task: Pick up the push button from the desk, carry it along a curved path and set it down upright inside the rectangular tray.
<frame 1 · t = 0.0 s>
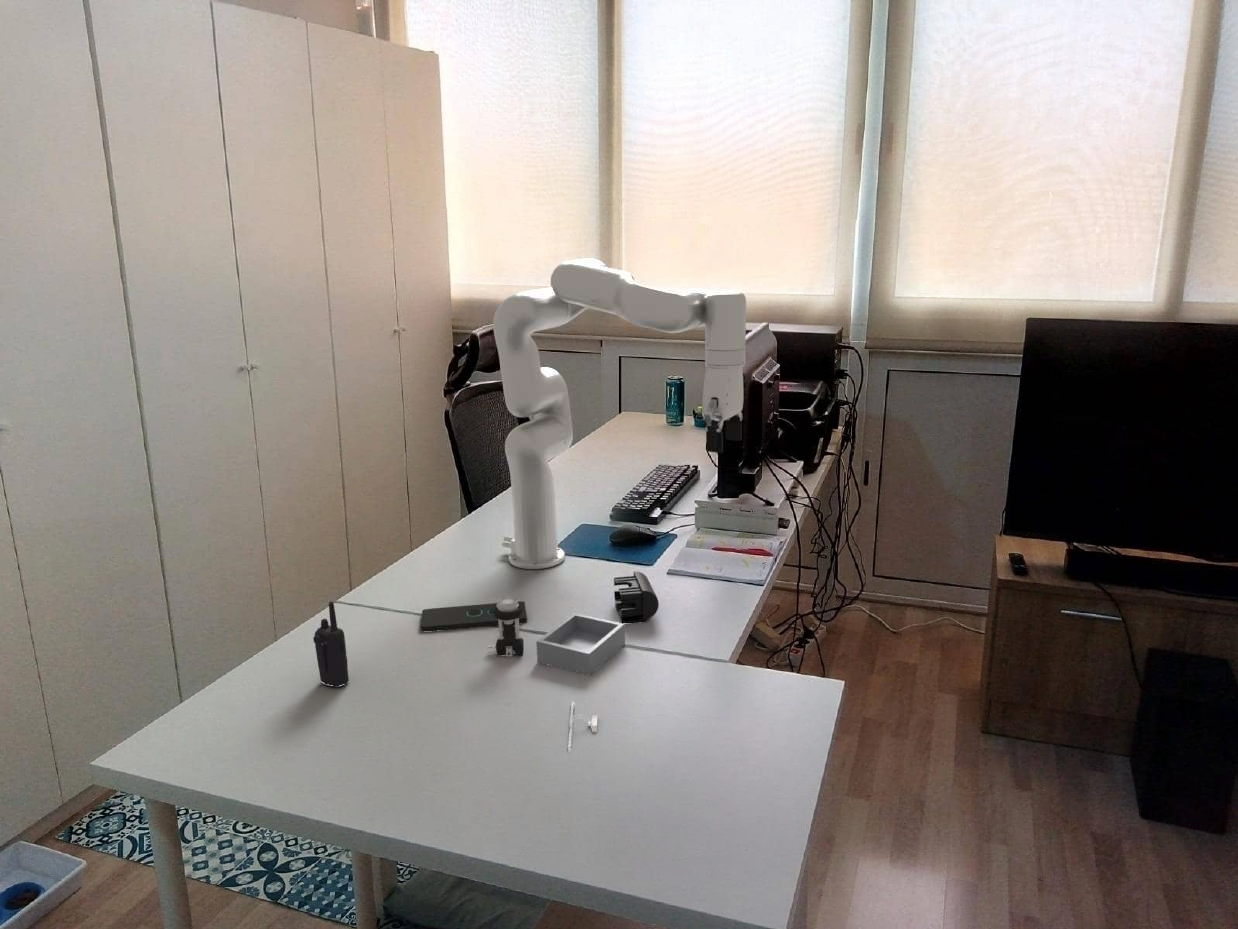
hand: (724, 445, 172), 31 cm above the table, tool pointing down, fingers open, 9 cm apart
rectangular tray: (582, 653, 158), on the table
picture light: (583, 729, 136), on the table
smart home device: (474, 622, 173), on the table
push button: (506, 654, 159), on the table
two-way radio: (332, 685, 149), on the table
end cap: (636, 614, 174), on the table
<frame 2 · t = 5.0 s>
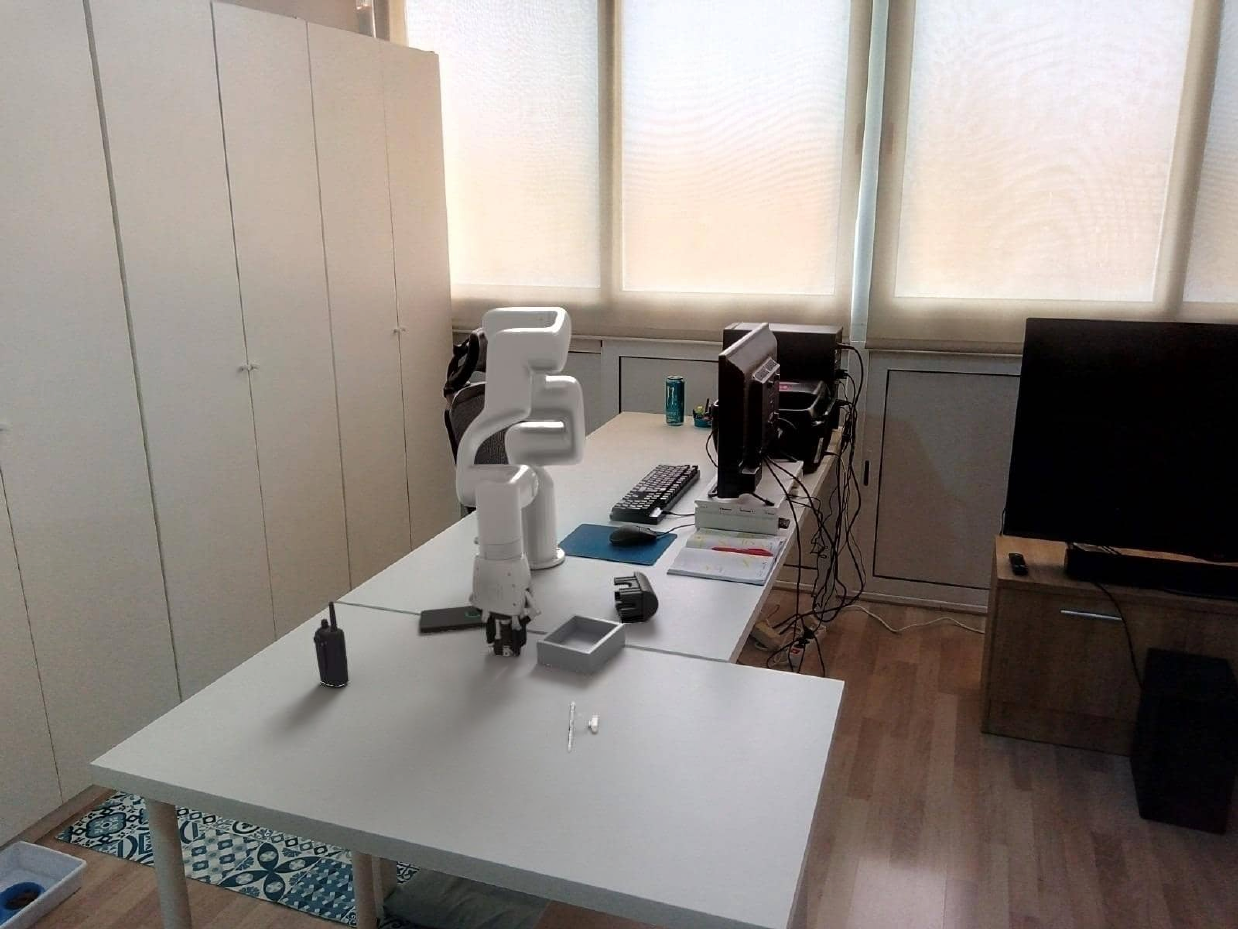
hand: (506, 643, 158), 2 cm above the table, tool pointing down, fingers closed on push button, 5 cm apart
push button: (504, 654, 159), on the table, touching gripper
everything else where it was.
when the fingers open (5 cm above the table, at t = 11.5 s): push button drops 1 cm, resting on rectangular tray.
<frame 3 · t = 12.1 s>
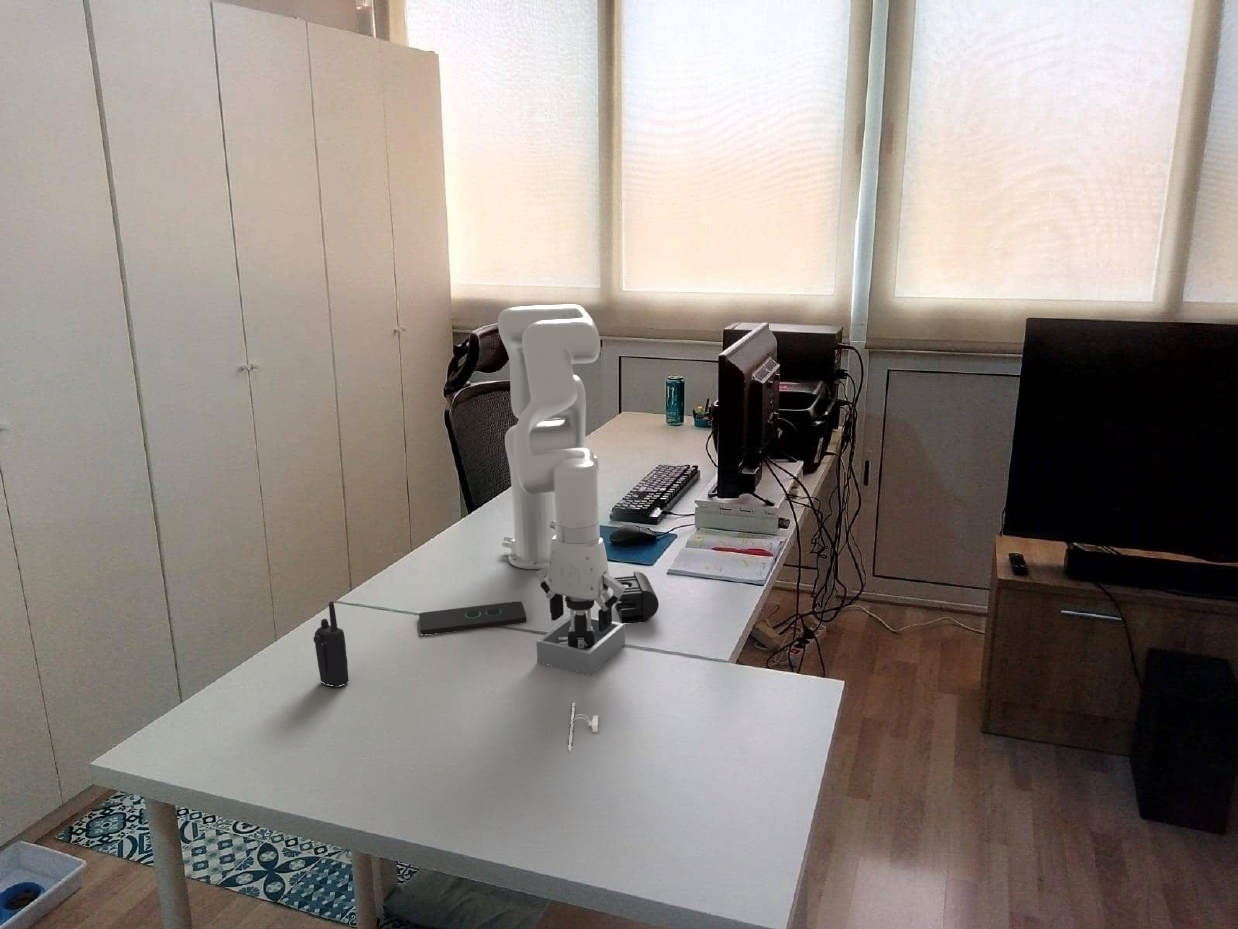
hand: (580, 623, 157), 6 cm above the table, tool pointing down, fingers open, 9 cm apart
push button: (577, 646, 159), point 1 cm above the table, touching rectangular tray
everything else where it was.
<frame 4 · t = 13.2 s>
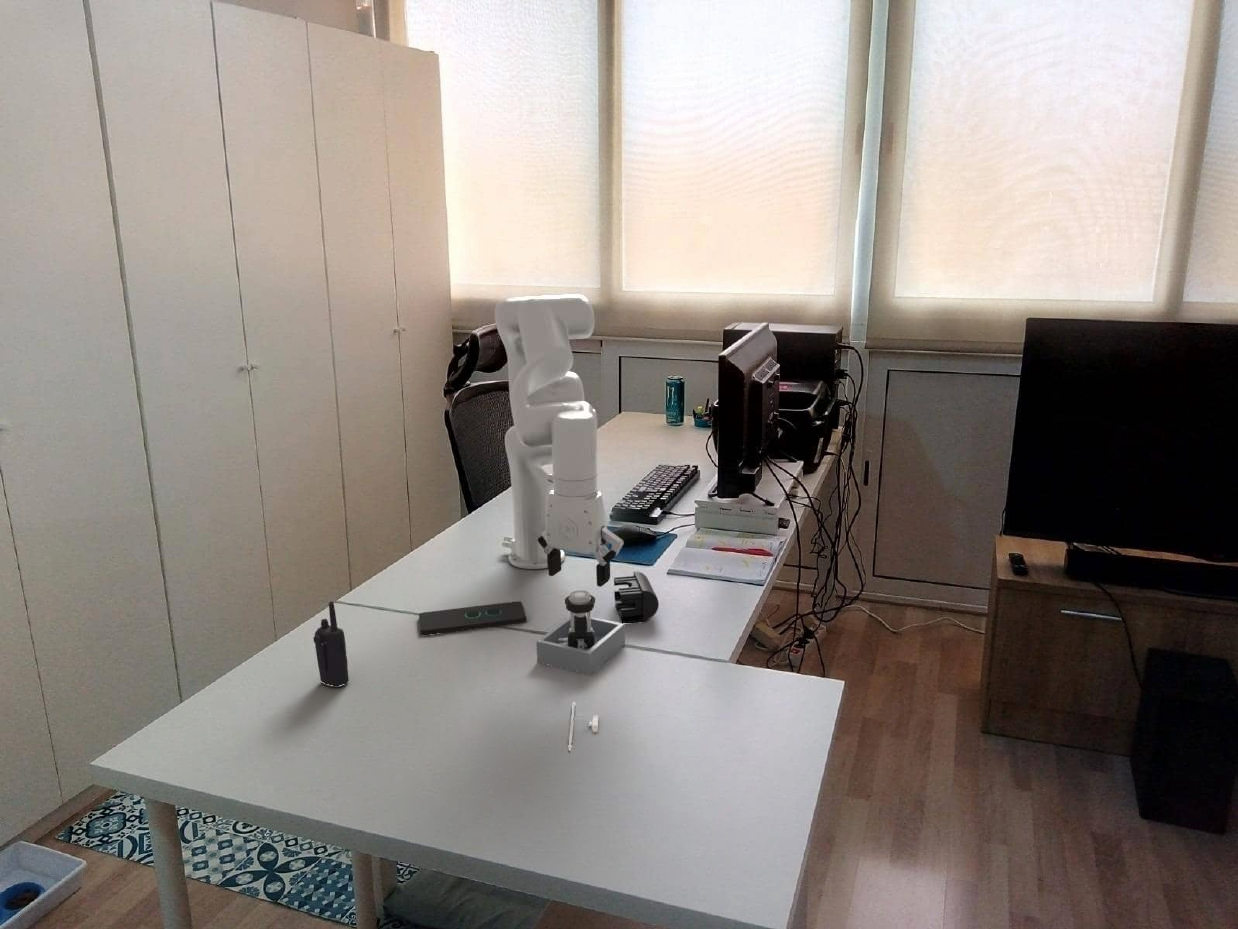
hand: (578, 578, 155), 14 cm above the table, tool pointing down, fingers open, 9 cm apart
nothing on the table moved.
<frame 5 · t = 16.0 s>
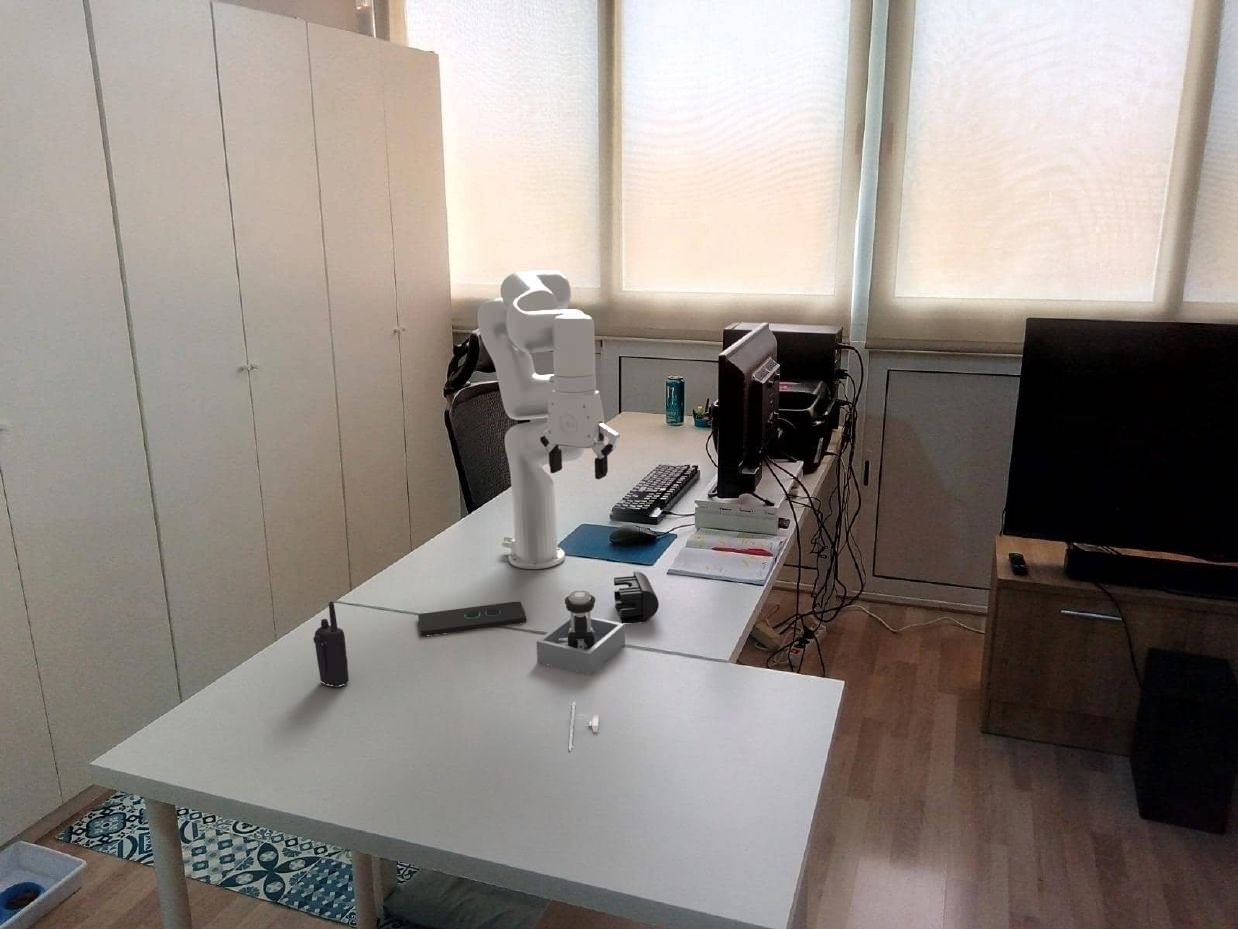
hand: (578, 474, 166), 28 cm above the table, tool pointing down, fingers open, 9 cm apart
at the end: push button inside the target area on the rectangular tray (0.9 cm from its centre), point 0.8 cm above the rectangular tray's base; push button tilted 0°; the gripper is holding nothing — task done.
